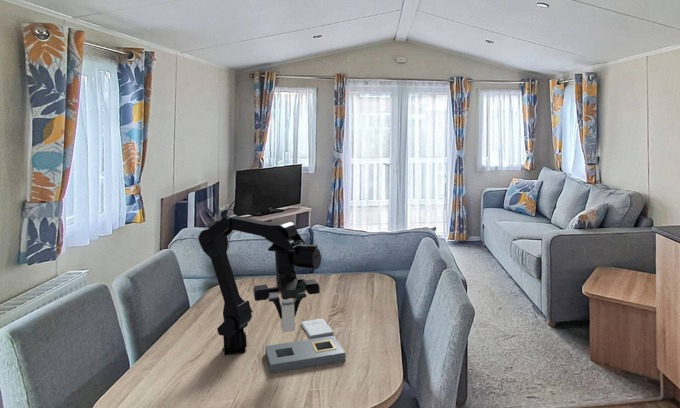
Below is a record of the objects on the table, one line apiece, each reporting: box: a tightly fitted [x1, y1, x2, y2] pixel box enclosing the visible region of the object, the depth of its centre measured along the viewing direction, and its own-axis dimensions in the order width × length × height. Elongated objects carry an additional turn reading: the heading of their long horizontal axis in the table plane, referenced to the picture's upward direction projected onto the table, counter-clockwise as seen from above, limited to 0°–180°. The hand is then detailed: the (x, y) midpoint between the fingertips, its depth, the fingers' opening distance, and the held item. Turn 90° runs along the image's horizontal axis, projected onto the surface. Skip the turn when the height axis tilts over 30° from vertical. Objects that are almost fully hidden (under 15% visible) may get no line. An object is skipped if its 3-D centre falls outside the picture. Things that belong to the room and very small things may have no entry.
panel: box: [264, 335, 346, 374], centre depth 129 cm, size 22×12×3 cm, turn 107°
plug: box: [280, 298, 296, 333], centre depth 125 cm, size 4×4×9 cm
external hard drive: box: [300, 318, 335, 339], centre depth 148 cm, size 2×8×12 cm
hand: (287, 317), depth 126 cm, fingers closed on plug, 4 cm apart
